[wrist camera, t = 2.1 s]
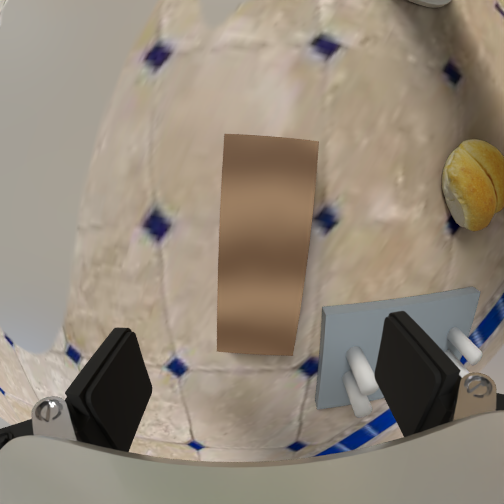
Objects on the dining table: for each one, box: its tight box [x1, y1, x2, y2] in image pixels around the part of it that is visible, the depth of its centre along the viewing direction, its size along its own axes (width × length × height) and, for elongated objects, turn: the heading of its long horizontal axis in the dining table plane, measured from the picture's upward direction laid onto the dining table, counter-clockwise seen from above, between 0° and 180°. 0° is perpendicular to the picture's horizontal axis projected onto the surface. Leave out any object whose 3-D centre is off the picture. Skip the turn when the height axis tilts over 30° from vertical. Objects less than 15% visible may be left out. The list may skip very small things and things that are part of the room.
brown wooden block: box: [217, 134, 319, 356], centre depth 21 cm, size 16×6×4 cm, turn 176°
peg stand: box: [315, 287, 483, 418], centre depth 22 cm, size 12×18×6 cm, turn 94°
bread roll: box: [442, 139, 504, 231], centre depth 19 cm, size 8×9×4 cm
